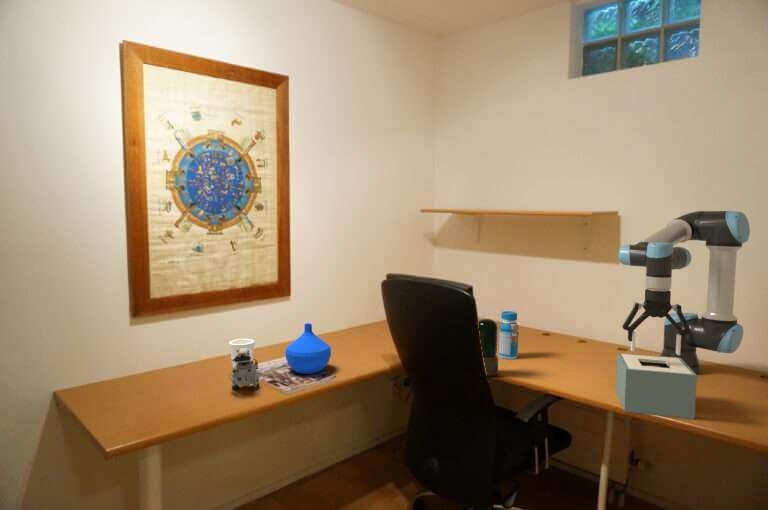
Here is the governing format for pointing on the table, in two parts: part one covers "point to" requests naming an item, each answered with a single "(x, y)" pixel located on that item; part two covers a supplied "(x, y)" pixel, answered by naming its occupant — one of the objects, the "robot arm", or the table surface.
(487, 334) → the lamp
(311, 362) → the vase
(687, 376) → the box
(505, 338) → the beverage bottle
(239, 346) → the foam cup
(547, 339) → the table surface
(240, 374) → the figurine
